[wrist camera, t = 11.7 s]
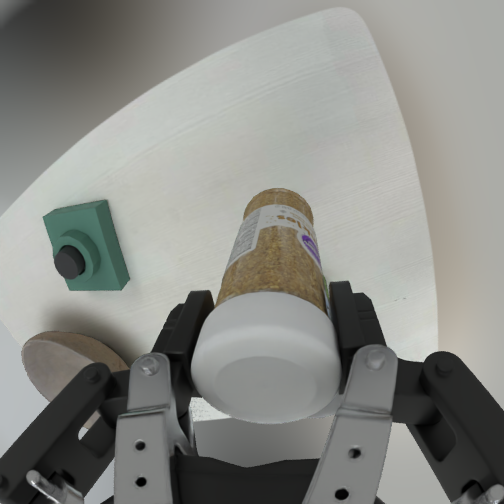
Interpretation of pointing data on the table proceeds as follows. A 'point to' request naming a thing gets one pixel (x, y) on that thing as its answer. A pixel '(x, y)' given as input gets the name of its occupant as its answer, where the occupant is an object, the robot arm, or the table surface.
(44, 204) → the table surface
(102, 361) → the bowl
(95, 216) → the green push button box
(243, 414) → the sprinkles bottle
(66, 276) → the button
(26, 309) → the table surface
